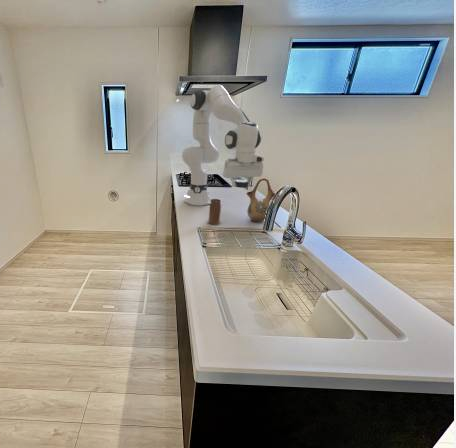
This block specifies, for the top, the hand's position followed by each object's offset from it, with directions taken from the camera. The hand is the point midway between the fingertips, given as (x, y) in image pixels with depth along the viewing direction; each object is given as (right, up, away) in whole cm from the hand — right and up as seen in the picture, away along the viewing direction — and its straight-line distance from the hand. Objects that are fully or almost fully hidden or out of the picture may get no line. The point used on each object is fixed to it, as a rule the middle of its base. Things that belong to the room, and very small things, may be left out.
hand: (241, 185), depth 122 cm
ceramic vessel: (+16, -18, +18) cm, 30 cm away
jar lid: (0, +2, -1) cm, 2 cm away
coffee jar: (-10, -19, +15) cm, 26 cm away
